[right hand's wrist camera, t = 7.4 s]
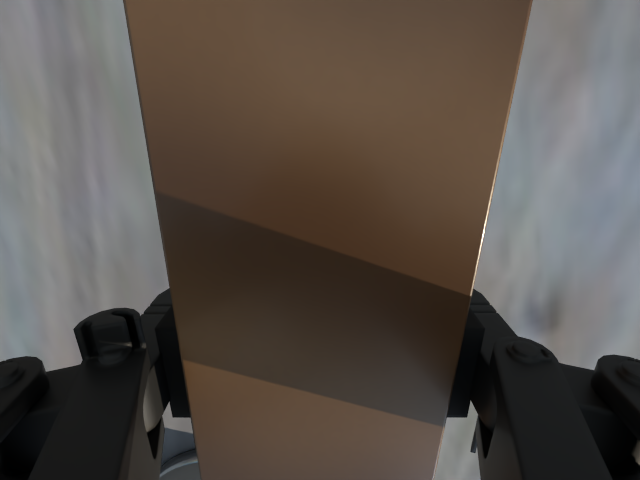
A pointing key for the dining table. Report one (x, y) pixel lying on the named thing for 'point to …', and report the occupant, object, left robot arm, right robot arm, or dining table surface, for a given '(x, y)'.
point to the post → (323, 218)
